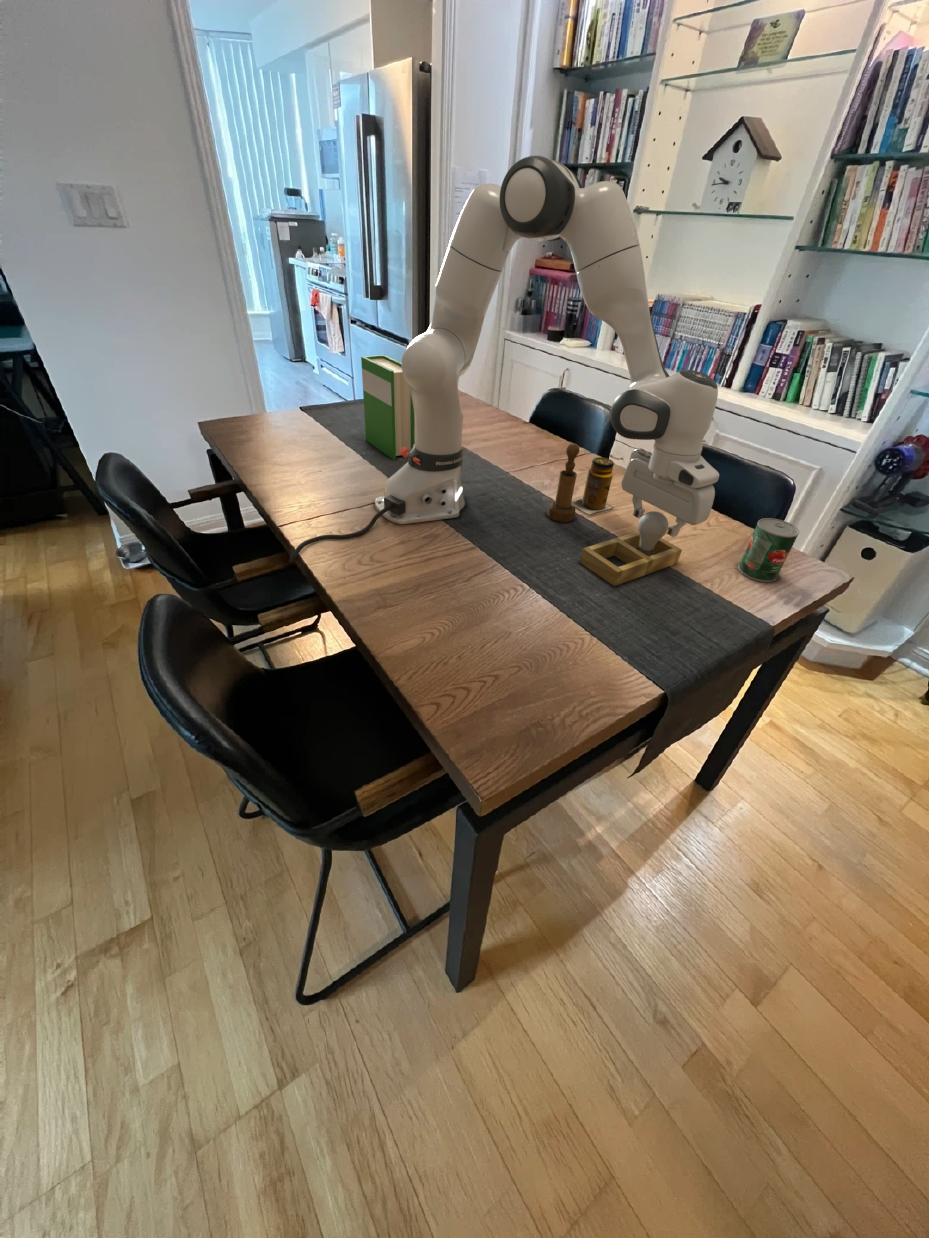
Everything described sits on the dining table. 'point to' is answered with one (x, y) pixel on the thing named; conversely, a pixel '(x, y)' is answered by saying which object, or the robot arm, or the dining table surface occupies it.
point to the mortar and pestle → (565, 489)
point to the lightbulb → (651, 530)
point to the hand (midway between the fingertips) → (654, 525)
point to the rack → (628, 558)
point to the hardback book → (387, 405)
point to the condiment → (596, 487)
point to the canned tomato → (768, 549)
